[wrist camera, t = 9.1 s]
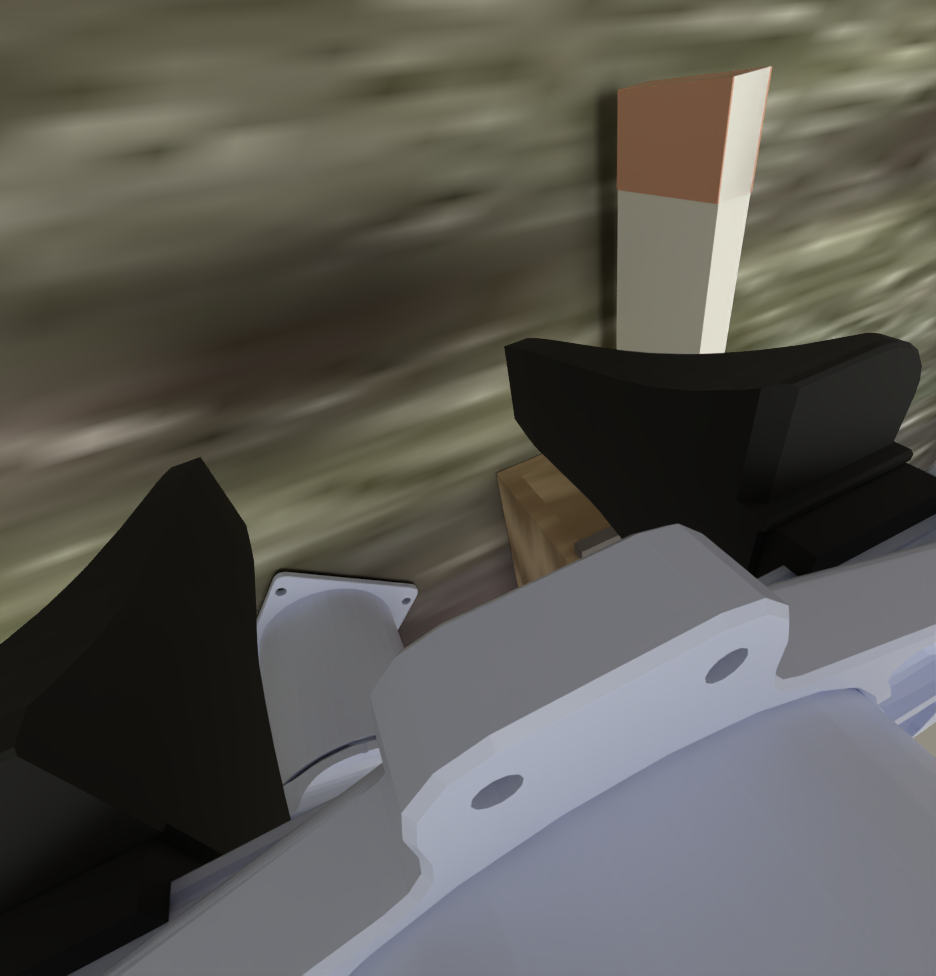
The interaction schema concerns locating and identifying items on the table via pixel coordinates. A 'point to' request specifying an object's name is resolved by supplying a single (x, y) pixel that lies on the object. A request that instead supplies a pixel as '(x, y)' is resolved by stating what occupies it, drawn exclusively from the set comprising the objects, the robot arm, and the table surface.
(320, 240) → the table surface
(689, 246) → the ticket
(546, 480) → the ticket box
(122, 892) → the robot arm
